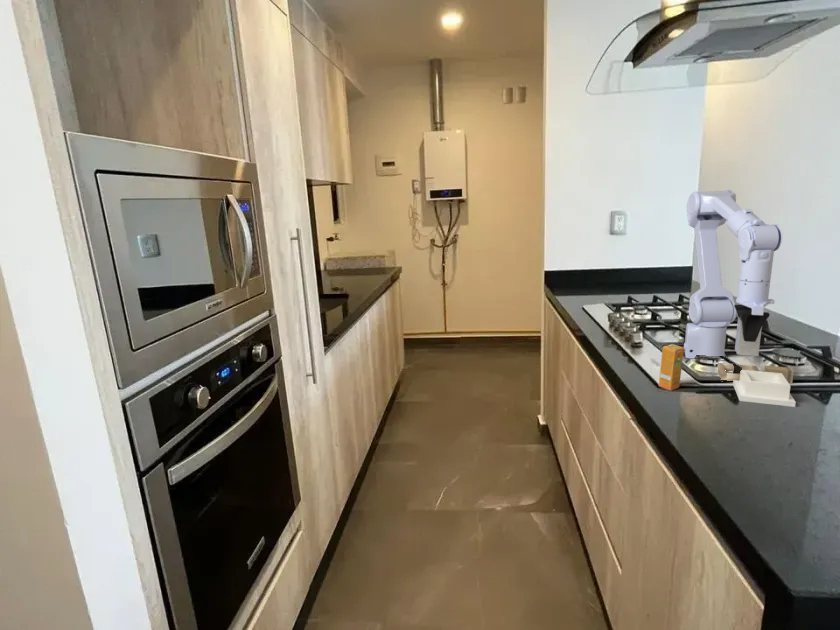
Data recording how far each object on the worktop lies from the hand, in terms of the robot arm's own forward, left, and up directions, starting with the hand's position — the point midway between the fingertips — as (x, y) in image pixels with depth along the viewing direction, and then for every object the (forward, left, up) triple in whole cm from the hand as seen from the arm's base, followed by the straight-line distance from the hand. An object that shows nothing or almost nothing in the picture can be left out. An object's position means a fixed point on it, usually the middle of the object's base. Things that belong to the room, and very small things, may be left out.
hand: (747, 338), depth 110 cm
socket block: (-1, +2, -11) cm, 11 cm away
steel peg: (0, 0, -3) cm, 3 cm away
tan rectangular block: (+7, +2, -10) cm, 13 cm away
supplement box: (-16, -9, -11) cm, 21 cm away
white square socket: (+2, -8, -11) cm, 13 cm away
